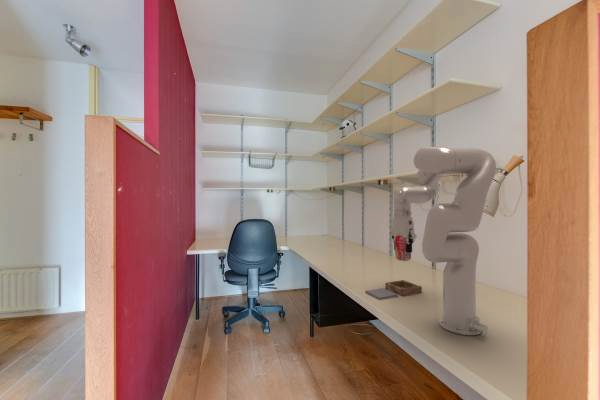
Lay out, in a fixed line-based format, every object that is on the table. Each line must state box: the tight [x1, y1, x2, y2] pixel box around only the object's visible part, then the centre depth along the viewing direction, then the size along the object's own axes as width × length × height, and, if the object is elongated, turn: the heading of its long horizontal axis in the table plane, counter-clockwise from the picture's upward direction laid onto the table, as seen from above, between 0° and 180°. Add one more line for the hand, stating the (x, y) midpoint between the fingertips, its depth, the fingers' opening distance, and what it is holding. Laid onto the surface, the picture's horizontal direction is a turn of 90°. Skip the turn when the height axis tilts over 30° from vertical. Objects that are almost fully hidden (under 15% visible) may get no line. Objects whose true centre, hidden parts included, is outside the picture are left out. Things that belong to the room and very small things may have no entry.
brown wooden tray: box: [384, 279, 423, 297], centre depth 128 cm, size 11×11×3 cm
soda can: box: [394, 235, 412, 262], centre depth 128 cm, size 7×7×12 cm
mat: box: [365, 287, 399, 301], centre depth 123 cm, size 10×10×1 cm
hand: (402, 250), depth 128 cm, fingers closed on soda can, 7 cm apart
